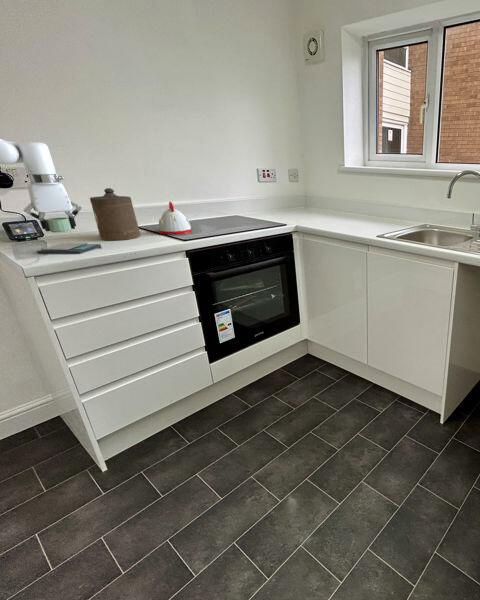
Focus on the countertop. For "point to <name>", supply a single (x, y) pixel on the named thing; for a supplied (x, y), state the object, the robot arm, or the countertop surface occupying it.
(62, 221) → the bowl
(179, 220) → the white dome
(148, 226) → the countertop surface
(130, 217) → the wooden container
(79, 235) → the countertop surface
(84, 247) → the scale
